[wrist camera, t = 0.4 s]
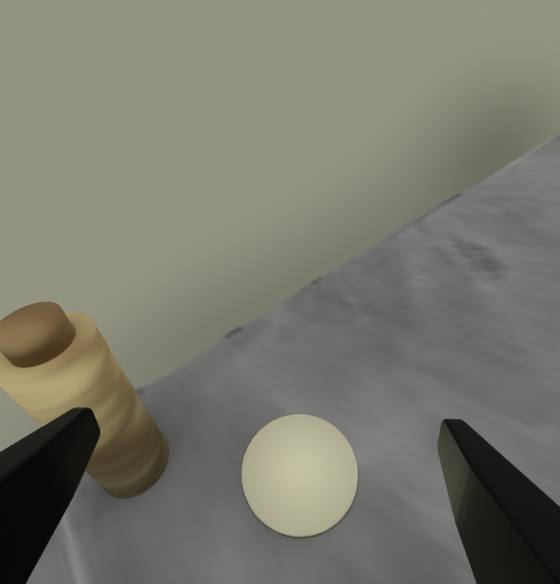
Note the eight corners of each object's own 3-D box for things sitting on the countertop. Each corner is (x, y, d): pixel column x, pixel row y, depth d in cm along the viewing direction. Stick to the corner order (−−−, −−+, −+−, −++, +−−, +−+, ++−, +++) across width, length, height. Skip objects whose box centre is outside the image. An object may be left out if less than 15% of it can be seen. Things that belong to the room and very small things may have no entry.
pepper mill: (146, 505, 22) (25, 369, 13) (87, 489, 24) (-61, 354, 15) (179, 438, 26) (101, 294, 17) (127, 426, 27) (28, 287, 18)
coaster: (352, 553, 19) (352, 551, 19) (225, 519, 21) (224, 517, 21) (360, 427, 25) (361, 424, 25) (261, 409, 27) (260, 406, 27)
